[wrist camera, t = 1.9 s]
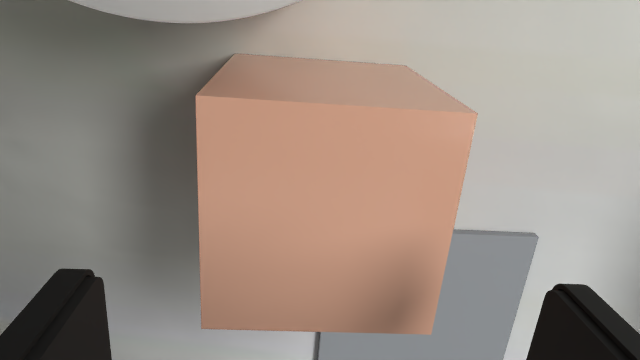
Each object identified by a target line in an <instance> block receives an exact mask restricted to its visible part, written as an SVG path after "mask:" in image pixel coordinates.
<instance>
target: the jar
mask: <svg viewBox="0 0 640 360" xmlns="http://www.w3.org/2000/svg"><path fill="white" fill-rule="evenodd" d="M69 1H71V2H74V3H77V4H80V5H83V6H86V7H89V8H92V9H96V10H99V11H103V12H106V13H110V14H114V15H119V16H124V17H129V18H134V19H140V20H147V21H156V22H167V23H210V22H221V21H229V20H236V19H241V18H246V17H251V16H256V15H260V14H264V13H267V12H271V11H274V10H277V9H280V8H283V7H286V6H289V5H292V4H294V3H297V2H299V1H302V0H69Z"/></svg>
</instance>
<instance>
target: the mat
mask: <svg viewBox="0 0 640 360" xmlns="http://www.w3.org/2000/svg"><path fill="white" fill-rule="evenodd" d="M538 238H539V237H538V236H537V235H536V234H535V233H519V232H496V231H473V230H453V233H452V238H451V243H450V248H449V252H448V257H447V262H446V267H445V271H444V276H443V281H442V286H441V290H440V295H439V300H438V305H437V309H436V314H435V319H434V324H433V328H432V333H431V335H424V334H385V333H345V332H320V339H319V349H318V360H503V358H504V354H505V351H506V347H507V344H508V340H509V337H510V334H511V330H512V327H513V323H514V320H515V316H516V313H517V310H518V306H519V303H520V299H521V296H522V292H523V289H524V286H525V282H526V279H527V275H528V272H529V268H530V265H531V262H532V258H533V255H534V251H535V248H536V244H537V241H538Z"/></svg>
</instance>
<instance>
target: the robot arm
mask: <svg viewBox="0 0 640 360" xmlns="http://www.w3.org/2000/svg"><path fill="white" fill-rule="evenodd" d="M0 360H112V359H111V349H110V340H109V330H108V321H107V311H106V302H105V292H104V284H103V280H102V278H101V277H95V275H94V273H93V271H92V270H90V269H59V270H58V271H57V272H56V273H55V274H54V275H53V276H52V277H51V278H50V279H49V281H48V282H47V283H46V284H45V285H44V286H43V287H42V289H41V290H40V291H39V292H38V293H37V294H36V295H35V297H34V298H33V299H32V300H31V301H30V302H29V303H28V305H27V306H26V307H25V308H24V309H23V310H22V311H21V313H20V314H19V315H18V316H17V317H16V318H15V319H14V321H13V322H12V323H11V324H10V325H9V326H8V327H7V329H6V330H5V331H4V332H3V333H2V334H1V335H0ZM526 360H640V334H639V333H638V332H637V331H636V330H635V329H634V328H632V327H631V326H630V325H629V324H628V323H627V322H626V321H625V320H624V319H623V318H622V317H621V316H620V315H619V314H618V313H616V312H615V311H614V310H613V309H612V308H611V307H610V306H609V305H608V304H607V303H606V302H605V301H604V300H603V299H602V298H601V297H599V296H598V295H597V294H596V293H595V292H594V291H593V290H592V289H591V288H590V287H588V286H587V285H582V284H557V285H555V286H554V287H553V289H552V290H550V291H548V292H547V293H546V295H545V298H544V301H543V305H542V308H541V311H540V315H539V318H538V322H537V325H536V329H535V332H534V335H533V339H532V342H531V346H530V349H529V352H528V356H527V359H526Z"/></svg>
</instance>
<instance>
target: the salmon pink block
mask: <svg viewBox="0 0 640 360" xmlns="http://www.w3.org/2000/svg"><path fill="white" fill-rule="evenodd" d="M195 96H196V135H197V174H198V213H199V252H200V291H201V329H227V330H267V331H306V332H345V333H385V334H424V335H431V333H432V328H433V324H434V319H435V314H436V309H437V305H438V300H439V295H440V290H441V286H442V281H443V276H444V271H445V267H446V262H447V257H448V252H449V248H450V243H451V238H452V233H453V229H454V224H455V219H456V214H457V210H458V205H459V200H460V195H461V191H462V186H463V181H464V176H465V172H466V167H467V162H468V157H469V153H470V148H471V143H472V138H473V134H474V129H475V124H476V119H477V115H478V113H476V112H475V111H473V110H472V109H470V108H469V107H467V106H466V105H464V104H463V103H461V102H460V101H458V100H457V99H455V98H454V97H452V96H451V95H449V94H448V93H446V92H445V91H443V90H442V89H440V88H439V87H437V86H436V85H434V84H433V83H431V82H430V81H428V80H427V79H425V78H424V77H422V76H421V75H419V74H418V73H416V72H415V71H413V70H412V69H410V68H409V67H407V66H403V65H389V64H375V63H361V62H347V61H333V60H319V59H305V58H291V57H277V56H263V55H249V54H234V55H233V56H232V57H231V58H230V59H229V60H228V61H227V62H226V64H225V65H224V66H223V67H222V68H221V69H220V70H219V71H218V72H217V73H216V74H215V75H214V76H213V77H212V78H211V79H210V81H209V82H208V83H207V84H206V85H205V86H204V87H203V88H202V89H201V90H200V91H199V92H198V93H197V94H196V95H195Z"/></svg>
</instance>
